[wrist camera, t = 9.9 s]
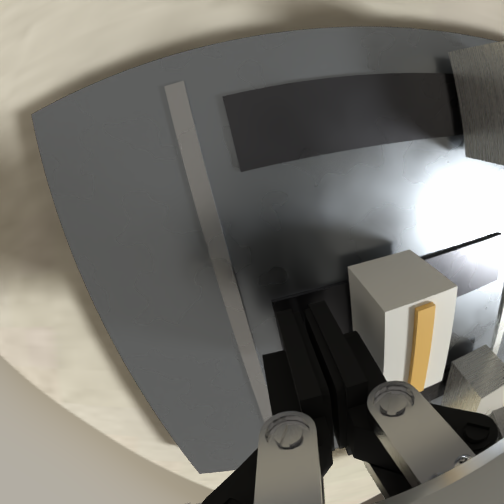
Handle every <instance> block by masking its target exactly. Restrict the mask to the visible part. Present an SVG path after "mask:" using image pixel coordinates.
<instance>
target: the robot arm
mask: <svg viewBox="0 0 504 504" xmlns="http://www.w3.org/2000/svg"><path fill="white" fill-rule="evenodd" d="M308 308H309V309H305V310H303V313H304V319H305V325H306V328H305V326H304V323H303V321H302V318H301V315H300V313H299V311H297V312H293V311H292V309H288V310H284V311H279V312H276V316H277V321H278V325H279V330H280V334H281V339H282V343H283V348H284V350H282V351H277V352H273V353H269V354H264V355H262V358H263V364H264V370H265V376H266V382H267V388H268V394H269V400H270V406H271V412H272V417H270V418H269V419H268V420H267V421H265V423H264V424H263V426H262V427H261V429H260V433H259V442H258V448H257V449H256V450H255V451H254V452H253V453H252V454H251V455H250V456H249V457H248V458H247V459H246V460H245V461H244V462H243V463H242V464H241V465H240V466H239V467H238V468H237V469H236V470H235V471H234V472H233V473H232V474H231V475H230V476H229V477H228V478H227V479H226V480H225V481H224V482H223V483H222V484H221V485H220V486H218V487H217V488H216V489H215V490H214V491H213V492H212V493H211V494H210V495H209V496H208V497H206V499H205V500H204V501H203V502H202V503H199V504H325V492H324V478H323V477H324V475H325V474H326V473H327V471H328V470H329V468H330V467H331V466H332V464H333V459H332V451H334V450H335V447H334V435H335V438H336V441H337V444H338V446H339V449H341V448H346V451H347V454H348V455H351V454H353V457H354V458H356V459H359V460H362V461H364V464H365V467H366V468H367V470H368V472H369V473H370V475H371V477H372V478H373V480H374V482H375V483H376V485H377V487H378V488H379V490H380V491H381V493H382V495H383V496H384V498H385V500H382V501H379V502H376V503H373V504H504V407H501V408H499V409H496V410H493V411H492V412H491V414H490V415H485V414H482V413H477V412H471V411H466V410H461V409H456V408H451V407H446V406H441V405H436V404H432V403H429V402H428V401H427V400H426V399H425V398H424V397H423V396H422V395H421V393H420V392H419V391H418V390H417V389H416V388H415V387H413V386H412V385H411V384H409V383H406V382H404V381H396V380H395V381H387V380H386V379H385V377H384V375H383V374H382V372H381V370H380V368H379V367H378V365H377V363H376V362H375V360H374V358H373V357H372V355H371V353H370V352H369V350H368V348H367V347H366V345H365V343H364V342H363V340H362V338H361V337H360V335H359V333H358V332H357V331H352V332H349V333H345V334H343V333H342V331H341V329H340V327H339V325H338V324H337V322H336V320H335V318H334V316H333V315H332V313H331V311H330V309H329V307H328V305H327V304H326V302H325V300H323V301H319V302H315V303H311V304H308ZM333 432H334V433H333ZM188 504H191V503H188Z"/></svg>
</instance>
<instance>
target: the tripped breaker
mask: <svg viewBox="0 0 504 504" xmlns="http://www.w3.org/2000/svg"><path fill="white" fill-rule="evenodd" d="M348 275H349V286H350V297H351V310H352V324H353V331H357V332H358V333H359V335H360V337H361V338H362V340H363V342H364V343H365V345H366V347H367V348H368V350H369V352H370V353H371V355H372V357H373V358H374V360H375V362H376V363H377V365H378V367H379V368H380V370H381V372H382V374H383V375H384V377H385V379H386V380H387V381H395V380H396V381H404V382H406V383H409V384H411V385H412V386H413V387H415V388H416V389H417V390H418V391H419V392H421V391H423V390H424V388H427V387H429V386H431V385H434V384H436V383H438V382H440V381H442V378H443V374H444V369H445V365H446V360H447V355H448V350H449V345H450V339H451V333H452V327H453V320H454V313H455V306H456V297H457V288H458V286H457V285H456V284H454V283H453V282H452V281H451V280H449V279H448V278H447V277H445V276H444V275H443V274H442V273H440V272H439V271H438V270H436V269H435V268H434V267H432V266H431V265H430V264H429V263H427V262H426V261H425V260H423V259H422V258H421V257H419V256H418V255H417V254H415V253H414V252H412V251H411V250H410V249H409V250H406V251H402V252H399V253H395V254H392V255H388V256H385V257H381V258H377V259H374V260H370V261H366V262H363V263H359V264H355V265H352V266H348Z"/></svg>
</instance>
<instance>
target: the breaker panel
mask: <svg viewBox="0 0 504 504" xmlns="http://www.w3.org/2000/svg"><path fill="white" fill-rule="evenodd" d="M32 120H33V125H34V130H35V134H36V139H37V143H38V147H39V151H40V155H41V159H42V163H43V167H44V171H45V174H46V178H47V181H48V185H49V188H50V191H51V195H52V198H53V201H54V204H55V207H56V210H57V213H58V216H59V219H60V222H61V225H62V228H63V230H64V233H65V236H66V239H67V241H68V244H69V247H70V249H71V252H72V254H73V257H74V259H75V262H76V264H77V267H78V269H79V271H80V274H81V276H82V278H83V281H84V283H85V285H86V288H87V290H88V292H89V294H90V296H91V299H92V301H93V303H94V305H95V307H96V309H97V311H98V313H99V315H100V318H101V320H102V322H103V324H104V326H105V328H106V330H107V331H108V333H109V335H110V337H111V339H112V341H113V343H114V345H115V347H116V349H117V350H118V352H119V354H120V356H121V358H122V359H123V361H124V363H125V365H126V366H127V368H128V370H129V372H130V373H131V375H132V377H133V378H134V380H135V382H136V383H137V385H138V387H139V388H140V390H141V392H142V393H143V395H144V396H145V398H146V400H147V401H148V403H149V404H150V406H151V407H152V409H153V410H154V412H155V413H156V415H157V416H158V418H159V419H160V421H161V422H162V424H163V425H164V427H165V428H166V430H167V431H168V432H169V434H170V435H171V437H172V438H173V440H174V441H175V442H176V444H177V445H178V446H179V448H180V449H181V450H182V452H183V453H184V454H185V456H186V457H187V458H188V460H189V461H190V462H191V464H192V465H193V466H194V467H195V469H196V470H197V471H198V472H199V474H202V473H213V472H222V471H230V470H236V469H237V468H238V467H239V466H240V465H241V464H242V463H243V462H244V461H245V460H246V459H247V458H248V457H249V456H250V455H251V454H252V453H253V452H254V451H255V450H256V449H257V448H258V442H259V433H260V429H261V427H262V426H263V424H264V423H265V421H267V420H268V419H269V418H270V417H272V412H271V406H270V400H269V394H268V388H267V382H266V376H265V370H264V364H263V358H262V355H264V354H269V353H273V352H277V351H282V350H284V348H283V343H282V339H281V334H280V330H279V325H278V321H277V316H276V312H279V311H284V310H288V309H292V311H293V312H297V311H299V313H300V315H301V318H302V321H303V323H304V326H305V328H306V325H305V319H304V313H303V310H305V309H309V308H308V304H311V303H315V302H319V301H323V300H325V302H326V304H327V305H328V307H329V309H330V311H331V313H332V315H333V316H334V318H335V320H336V322H337V324H338V325H339V327H340V329H341V331H342V333H343V334H345V333H349V332H352V331H353V324H352V310H351V297H350V286H349V275H348V266H352V265H355V264H359V263H363V262H366V261H370V260H374V259H377V258H381V257H385V256H388V255H392V254H395V253H399V252H402V251H406V250H409V249H410V250H411V251H412V252H414V253H415V254H417V255H418V256H419V257H421V258H422V259H423V260H425V261H426V262H427V263H429V264H430V265H431V266H432V267H434V268H435V269H436V270H438V271H439V272H440V273H442V274H443V275H444V276H445V277H447V278H448V279H449V280H451V281H452V282H453V283H454V284H456V285H457V286H458V288H457V297H456V306H455V313H454V320H453V327H452V333H451V339H450V345H449V350H448V355H447V360H446V365H445V369H444V374H443V378H442V381H440V382H438V383H436V384H434V385H431V386H429V387H427V388H424V390H423V391H421V392H420V393H421V395H422V396H423V397H424V398H425V399H426V400H427V401H428V402H429V403H432V404H436V405H441V406H446V407H451V408H456V409H461V410H466V411H471V412H477V413H482V414H485V415H490V414H491V412H492V411H493V410H496V409H499V408H501V407H503V406H504V41H501V42H498V41H494V40H489V39H485V38H480V37H475V36H469V35H463V34H457V33H450V32H443V31H435V30H425V29H414V28H398V27H332V28H317V29H305V30H295V31H286V32H278V33H271V34H264V35H258V36H252V37H246V38H241V39H236V40H231V41H226V42H221V43H217V44H212V45H208V46H204V47H200V48H196V49H192V50H188V51H185V52H181V53H178V54H174V55H171V56H168V57H164V58H161V59H158V60H155V61H152V62H149V63H146V64H143V65H140V66H137V67H134V68H132V69H129V70H126V71H123V72H121V73H118V74H116V75H113V76H111V77H108V78H106V79H103V80H101V81H99V82H96V83H94V84H92V85H89V86H87V87H85V88H83V89H80V90H78V91H76V92H74V93H72V94H70V95H68V96H66V97H64V98H62V99H60V100H58V101H56V102H54V103H52V104H50V105H48V106H46V107H44V108H42V109H41V110H39V111H37V112H35V113H33V114H32ZM333 433H334V432H333ZM334 447H335V449H336V448H339V446H338V444H337V441H336V438H335V435H334Z"/></svg>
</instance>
